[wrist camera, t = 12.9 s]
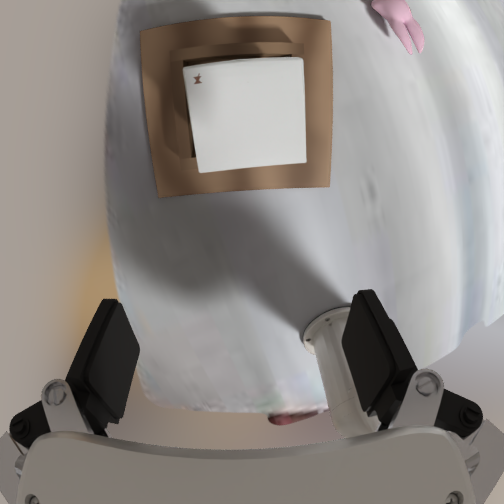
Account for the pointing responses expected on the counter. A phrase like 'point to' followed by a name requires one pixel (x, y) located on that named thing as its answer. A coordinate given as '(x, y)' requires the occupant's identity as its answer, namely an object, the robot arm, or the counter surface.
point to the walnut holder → (226, 49)
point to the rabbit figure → (401, 22)
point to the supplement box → (247, 112)
